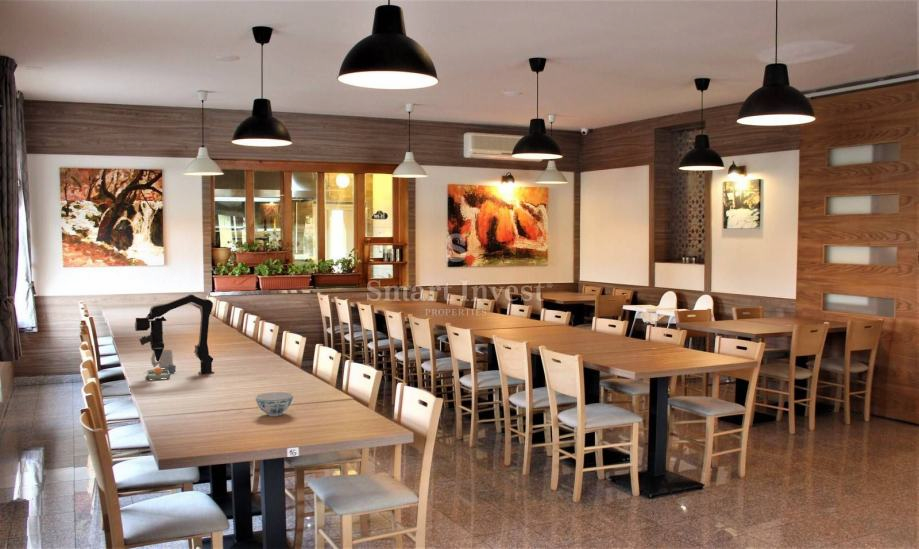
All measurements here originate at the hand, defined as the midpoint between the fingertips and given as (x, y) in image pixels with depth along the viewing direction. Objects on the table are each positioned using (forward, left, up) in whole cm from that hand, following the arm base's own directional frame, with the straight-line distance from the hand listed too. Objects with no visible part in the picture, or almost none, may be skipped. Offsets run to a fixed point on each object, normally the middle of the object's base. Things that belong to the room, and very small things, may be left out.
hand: (157, 359), depth 407 cm
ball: (0, 0, -6) cm, 6 cm away
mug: (+26, -14, -9) cm, 31 cm away
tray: (0, 0, -9) cm, 9 cm away
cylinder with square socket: (+9, -11, -9) cm, 17 cm away
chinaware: (-119, +2, -10) cm, 119 cm away
